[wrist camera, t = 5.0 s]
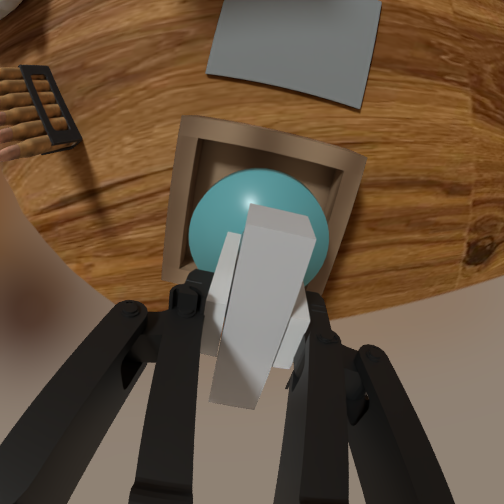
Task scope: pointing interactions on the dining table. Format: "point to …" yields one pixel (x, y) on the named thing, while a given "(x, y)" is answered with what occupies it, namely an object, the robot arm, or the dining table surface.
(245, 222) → the cover
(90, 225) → the dining table surface
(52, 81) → the ammunition clip
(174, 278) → the housing
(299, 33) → the mat
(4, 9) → the teacup
